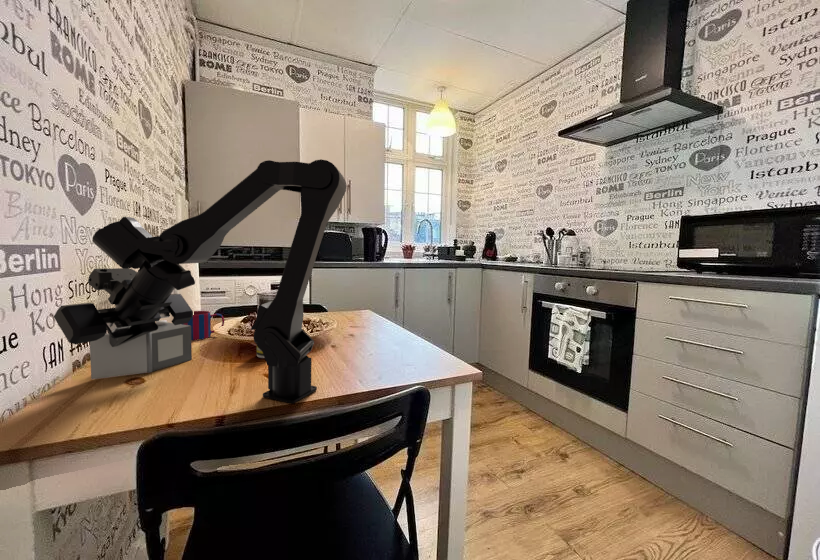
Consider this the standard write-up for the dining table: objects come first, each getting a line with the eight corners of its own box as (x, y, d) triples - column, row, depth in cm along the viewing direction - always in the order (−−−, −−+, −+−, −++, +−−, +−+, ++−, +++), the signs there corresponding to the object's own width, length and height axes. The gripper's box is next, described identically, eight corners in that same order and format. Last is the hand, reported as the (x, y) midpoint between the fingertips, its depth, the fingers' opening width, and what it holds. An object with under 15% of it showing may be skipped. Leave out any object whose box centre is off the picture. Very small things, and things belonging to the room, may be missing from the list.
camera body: (192, 359, 74) (191, 322, 74) (147, 373, 66) (146, 330, 65) (166, 354, 77) (165, 318, 76) (120, 366, 68) (119, 326, 68)
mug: (186, 335, 95) (185, 311, 94) (226, 333, 98) (226, 310, 97) (178, 341, 88) (177, 315, 88) (221, 339, 92) (221, 314, 91)
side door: (152, 370, 66) (151, 329, 66) (152, 372, 65) (151, 331, 65) (92, 377, 62) (91, 334, 61) (91, 379, 61) (89, 335, 60)
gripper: (181, 253, 67) (146, 304, 72) (57, 252, 50) (21, 320, 55) (211, 295, 65) (173, 345, 70) (92, 309, 48) (52, 374, 53)
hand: (113, 344), depth 62 cm, fingers closed
